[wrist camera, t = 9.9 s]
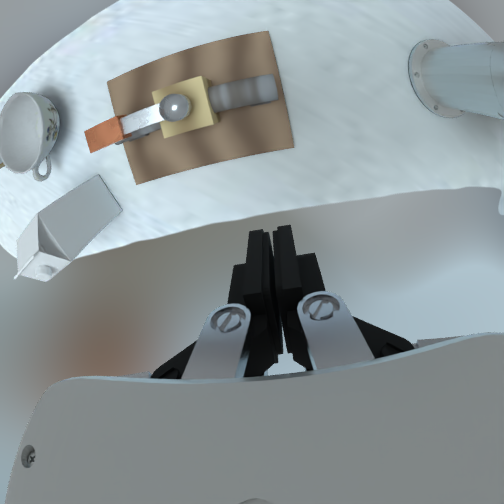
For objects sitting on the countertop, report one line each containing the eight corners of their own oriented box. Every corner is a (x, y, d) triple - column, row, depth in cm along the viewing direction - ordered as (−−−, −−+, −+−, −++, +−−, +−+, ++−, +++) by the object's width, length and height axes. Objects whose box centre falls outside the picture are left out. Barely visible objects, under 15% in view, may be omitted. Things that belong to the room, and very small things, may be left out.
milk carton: (73, 196, 37) (-2, 256, 21) (99, 173, 36) (15, 229, 19) (96, 230, 41) (31, 301, 24) (123, 210, 39) (53, 282, 22)
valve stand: (267, 33, 26) (270, 13, 18) (292, 145, 34) (302, 158, 26) (112, 82, 29) (78, 81, 21) (140, 181, 36) (113, 202, 29)
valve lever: (188, 90, 23) (182, 89, 21) (194, 115, 24) (189, 117, 22) (94, 128, 24) (84, 130, 22) (100, 149, 26) (90, 154, 24)
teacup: (20, 110, 29) (-11, 118, 22) (65, 74, 27) (32, 75, 20) (41, 182, 36) (12, 200, 29) (88, 157, 34) (57, 171, 27)
